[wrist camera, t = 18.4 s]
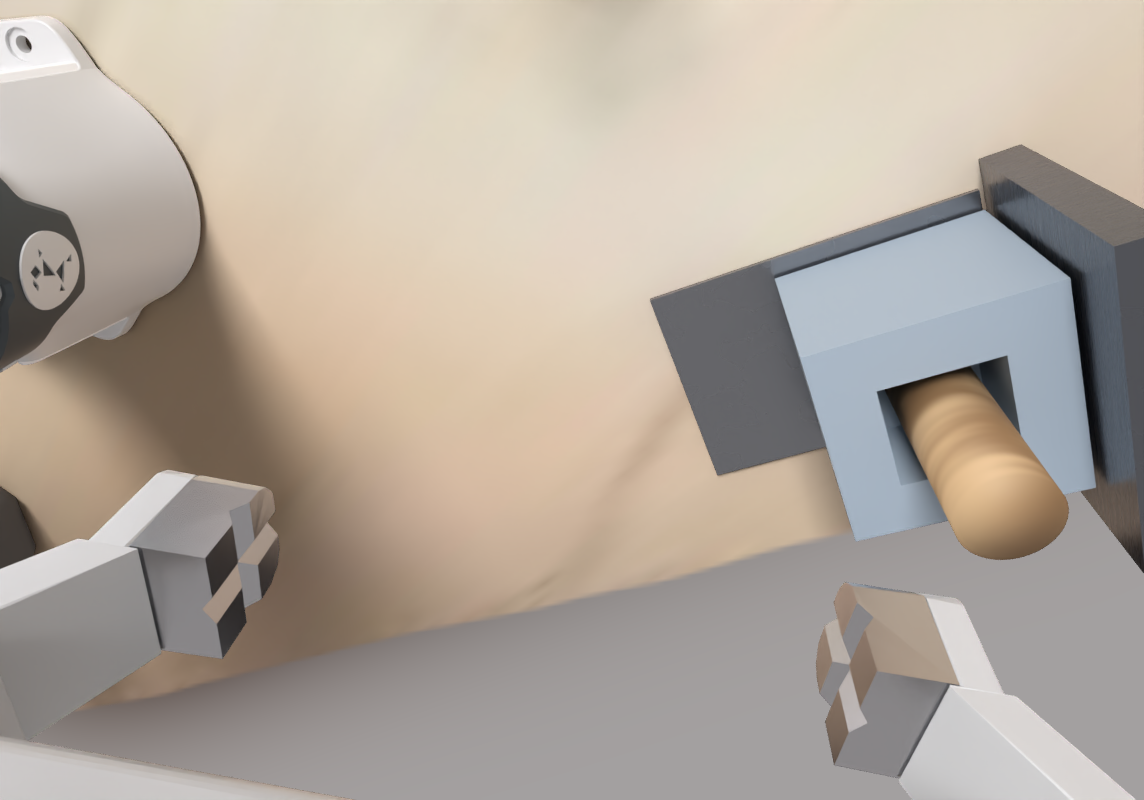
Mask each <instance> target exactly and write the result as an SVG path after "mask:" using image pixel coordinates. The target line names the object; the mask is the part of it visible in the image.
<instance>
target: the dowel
mask: <svg viewBox="0 0 1144 800" xmlns="http://www.w3.org/2000/svg"><path fill="white" fill-rule="evenodd" d="M884 390H885V392H886V394H887V396H888V398H889V400H890V402H891V404H892V406H893V408H894V410H895V412H896V415H897V417H898V419H899V421H900V423H901V425H902V427H903V429H904V431H905V433H906V435H907V437H908V439H909V441H910V443H911V445H912V447H913V449H914V451H915V453H916V455H917V457H918V459H919V462H920V464H921V466H922V468H923V470H924V472H925V474H926V476H927V478H928V480H929V482H930V484H931V486H932V488H933V490H934V492H935V494H936V496H937V498H938V500H939V502H940V504H941V506H942V509H943V511H944V513H945V515H946V517H947V519H948V521H949V522H950V525H951V527H952V529H953V531H954V533H955V535H956V537H957V539H958V541H959V542H960V543H961V545H962V546H963V547H964V548H965V549H967V550H968V551H970V552H971V553H973V554H975V555H978V556H981V557H984V558H988V559H995V560H1007V559H1015V558H1020V557H1024V556H1027V555H1030V554H1032V553H1035V552H1037V551H1039V550H1041V549H1043V548H1044V547H1046V546H1047V545H1049V544H1050V543H1051V542H1052V541H1053V540H1055V539H1056V537H1057V536H1058V535H1059V534H1060V533H1061V531H1062V530H1063V528H1064V526H1065V525H1066V522H1067V519H1068V513H1069V508H1068V503H1067V500H1066V497H1065V496H1064V494H1063V493H1062V491H1061V490H1060V489H1059V487H1058V486H1057V484H1056V483H1055V482H1054V480H1053V479H1052V478H1051V476H1050V475H1049V473H1048V472H1047V471H1046V469H1045V468H1044V467H1043V465H1042V464H1041V462H1040V461H1039V460H1038V458H1037V457H1036V456H1035V454H1034V453H1033V452H1032V450H1031V449H1030V447H1029V446H1028V445H1027V443H1026V442H1025V441H1024V439H1023V438H1022V436H1021V435H1020V434H1019V432H1018V431H1017V430H1016V428H1015V427H1014V425H1013V424H1012V423H1011V421H1010V420H1009V419H1008V417H1007V416H1006V415H1005V413H1004V412H1003V410H1002V409H1001V408H1000V406H999V405H998V404H997V402H996V401H995V399H994V398H993V397H992V395H991V394H990V393H989V391H988V390H987V388H986V387H985V386H984V384H983V383H982V382H981V380H980V379H979V378H978V376H977V375H976V373H975V372H974V371H973V369H972V368H971V367H970V366H967V367H963V368H960V369H956V370H952V371H949V372H945V373H942V374H938V375H934V376H931V377H927V378H924V379H920V380H916V381H913V382H909V383H905V384H902V385H898V386H895V387H891V388H887V389H884Z"/></svg>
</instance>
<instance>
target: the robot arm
mask: <svg viewBox="0 0 1144 800" xmlns="http://www.w3.org/2000/svg"><path fill="white" fill-rule="evenodd" d="M26 38H28V39H29V41H30V42H31V45H32V50H31V49H30V48H29V47H28V46H27V44H26ZM199 240H200V212H199V205H198V200H197V196H196V192H195V188H194V185H193V182H192V179H191V177H190V174H189V172H188V169H187V167H186V165H185V163H184V161H183V159H182V157H181V155H180V153H179V152H178V150H177V148H176V147H175V145H174V144H173V142H172V141H171V139H170V138H169V136H168V135H167V133H166V132H165V131H164V129H163V128H162V127H161V126H160V125H159V123H158V122H157V121H156V120H155V119H154V118H153V117H152V115H151V114H150V113H149V112H148V111H147V110H146V109H145V108H144V107H143V106H142V105H141V104H140V103H138V102H137V101H136V100H135V99H134V98H133V97H131V96H130V95H129V94H128V93H126V92H125V91H124V90H122V89H121V88H120V87H119V86H117V85H116V84H115V83H113V82H112V81H111V80H110V79H108V78H107V77H106V76H105V75H104V74H103V73H102V72H101V71H100V70H99V69H98V68H97V67H96V66H95V64H94V63H93V61H92V60H91V58H90V57H89V55H88V54H87V53H86V51H85V50H84V48H83V47H82V46H81V44H80V43H79V42H78V40H77V39H76V38H75V36H74V35H73V34H72V33H71V32H70V30H69V29H68V28H67V27H66V26H65V25H64V24H63V23H61V22H60V21H59V20H57V19H55V18H53V17H50V16H32V17H21V18H10V19H0V372H2V371H4V370H6V369H8V368H9V367H11V366H13V365H14V364H16V363H17V362H18V363H20V364H22V365H29V364H33V363H36V362H39V361H41V360H43V359H45V358H47V357H49V356H52V355H54V354H56V353H58V352H60V351H62V350H64V349H66V348H68V347H70V346H72V345H74V344H76V343H78V342H80V341H82V340H84V339H86V338H88V337H90V336H94V337H97V338H100V339H104V340H113V339H115V338H117V337H119V336H121V335H123V334H125V333H127V332H128V331H129V330H130V329H131V327H132V326H133V324H134V323H135V321H136V319H137V317H138V316H139V314H140V312H141V310H142V309H143V308H144V307H145V306H146V305H148V304H149V303H151V302H153V301H155V300H157V299H159V298H160V297H162V296H164V295H166V294H167V293H169V292H170V291H172V290H173V289H174V288H175V287H176V286H177V285H178V284H179V283H180V282H181V281H182V280H183V279H184V278H185V276H186V275H187V273H188V272H189V270H190V268H191V266H192V264H193V262H194V260H195V257H196V254H197V250H198V246H199ZM274 512H275V504H274V497H273V492H272V491H270V490H269V489H268V488H266V487H261V486H256V485H251V484H245V483H240V482H235V481H229V480H224V479H219V478H213V477H208V476H202V475H201V476H198V475H194V474H188V473H183V472H178V471H172V470H165V471H162V472H159V473H157V474H156V475H155V476H154V477H153V478H152V479H151V480H150V481H149V482H148V483H146V484H145V485H144V486H143V487H142V488H141V489H140V490H139V491H138V492H137V493H136V494H135V495H134V496H133V497H132V498H131V499H130V500H129V501H128V502H127V503H126V504H125V505H124V506H123V507H122V508H121V509H120V510H119V511H118V512H117V513H116V514H115V515H114V516H113V517H112V518H111V519H110V520H109V521H108V522H107V523H106V524H105V525H104V526H103V527H102V528H101V529H100V530H98V531H97V532H96V533H95V534H94V535H93V536H92V537H91V538H90V539H89V540H83V539H76V540H73V541H70V542H68V543H65V544H63V545H60V546H58V547H55V548H53V549H50V550H48V551H45V552H42V553H40V554H37V555H35V556H32V557H30V558H27V559H25V560H22V561H19V562H17V563H14V564H12V565H9V566H7V567H4V568H2V569H0V800H353V799H348V798H342V797H336V796H331V795H326V794H320V793H315V792H309V791H304V790H298V789H293V788H287V787H281V786H276V785H270V784H265V783H259V782H254V781H248V780H242V779H237V778H232V777H226V776H221V775H215V774H210V773H204V772H198V771H193V770H187V769H182V768H176V767H171V766H165V765H160V764H154V763H149V762H143V761H138V760H132V759H127V758H121V757H115V756H110V755H104V754H99V753H93V752H87V751H82V750H77V749H71V748H65V747H60V746H55V745H49V744H43V743H38V742H32V741H29V740H30V739H32V738H33V737H35V736H36V735H38V734H39V733H41V732H43V731H44V730H45V729H47V728H49V727H50V726H52V725H53V724H55V723H56V722H58V721H59V720H61V719H62V718H64V717H65V716H67V715H68V714H70V713H71V712H73V711H75V710H76V709H78V708H79V707H81V706H82V705H84V704H85V703H87V702H88V701H90V700H91V699H93V698H94V697H96V696H97V695H99V694H100V693H102V692H104V691H105V690H107V689H108V688H110V687H111V686H113V685H114V684H116V683H117V682H119V681H120V680H122V679H123V678H125V677H126V676H128V675H129V674H131V673H132V672H134V671H136V670H137V669H139V668H140V667H142V666H143V665H145V664H146V663H148V662H149V661H151V660H152V659H154V658H155V657H157V656H158V655H160V654H161V650H164V651H171V652H178V653H185V654H192V655H199V656H206V657H213V658H220V659H223V658H224V656H225V654H226V653H227V651H228V650H229V648H230V647H231V645H232V644H233V642H234V641H235V639H236V638H237V636H238V635H239V633H240V632H241V630H242V629H243V627H244V626H245V624H246V614H245V608H246V607H248V606H250V605H251V604H253V603H255V602H257V601H259V600H261V599H262V598H263V596H264V594H265V593H266V591H267V590H268V588H269V586H270V585H271V583H272V580H273V577H274V574H275V571H276V568H277V565H278V557H279V539H278V534H277V533H276V532H275V531H274V530H273V528H272V527H271V526H270V525H269V524H268V521H269V519H270V518H271V516H272V515H273V514H274ZM834 606H835V610H836V614H837V618H836V619H835V620H833V621H831V622H830V623H828V624H827V625H825V626H824V629H823V632H822V635H821V638H820V641H819V645H818V652H817V660H816V670H817V682H818V686H819V692H820V694H821V696H822V697H823V698H824V699H825V700H826V701H827V702H828V703H829V705H830V706H831V709H830V711H829V714H828V716H827V718H826V721H825V723H826V728H827V733H828V737H829V742H830V747H831V752H832V757H833V762H834V765H836V766H841V767H846V768H851V769H856V770H860V771H866V772H871V773H876V774H880V775H886V776H890V777H895V778H900V779H899V783H900V784H901V785H902V787H903V788H904V789H905V791H906V792H907V793H908V794H909V796H910V797H911V799H912V800H1135V799H1134V798H1133V797H1132V796H1131V795H1130V794H1129V793H1127V792H1126V791H1125V790H1124V789H1123V788H1122V787H1120V786H1119V785H1118V784H1117V783H1116V782H1115V781H1114V780H1112V779H1111V778H1110V777H1109V776H1108V775H1107V774H1105V773H1104V772H1103V771H1102V770H1101V769H1100V768H1098V767H1097V766H1096V765H1095V764H1094V763H1093V762H1092V761H1090V760H1089V759H1088V758H1087V757H1086V756H1084V755H1083V754H1082V753H1081V752H1080V751H1079V750H1078V749H1077V748H1075V747H1074V746H1073V745H1072V744H1071V743H1070V742H1068V741H1067V740H1066V739H1065V738H1064V737H1063V736H1061V735H1060V734H1059V733H1058V732H1057V731H1056V730H1054V729H1053V728H1052V727H1051V726H1050V725H1049V724H1048V723H1046V722H1045V721H1044V720H1043V719H1042V718H1041V717H1039V716H1038V715H1037V714H1036V713H1035V712H1034V711H1033V710H1031V709H1030V708H1029V707H1028V706H1027V705H1026V704H1024V703H1023V702H1022V701H1021V700H1020V699H1018V698H1017V697H1016V696H1011V695H1005V694H1004V692H1003V690H1002V688H1001V686H1000V683H999V681H998V679H997V677H996V675H995V672H994V670H993V668H992V666H991V664H990V662H989V659H988V657H987V655H986V653H985V651H984V649H983V646H982V644H981V642H980V640H979V638H978V636H977V633H976V631H975V629H974V627H973V625H972V623H971V621H970V618H969V616H968V614H967V612H966V610H965V607H964V605H963V604H962V603H961V602H960V601H959V600H958V599H957V598H953V597H946V596H938V595H931V594H925V593H918V594H916V593H912V592H906V591H900V590H893V589H886V588H881V587H874V586H868V585H861V584H854V583H849V582H845V583H844V584H843V585H842V586H841V588H840V589H839V591H838V593H837V596H836V598H835V601H834Z"/></svg>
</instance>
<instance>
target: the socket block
mask: <svg viewBox="0 0 1144 800" xmlns="http://www.w3.org/2000/svg"><path fill="white" fill-rule="evenodd" d="M775 281H776V285H777V288H778V291H779V294H780V298H781V301H782V304H783V308H784V311H785V314H786V317H787V321H788V324H789V327H790V331H791V334H792V337H793V341H794V344H795V347H796V350H797V354H798V357H799V360H800V364H801V367H802V370H803V373H804V377H805V380H806V383H807V387H808V390H809V393H810V396H811V400H812V403H813V406H814V410H815V413H816V416H817V419H818V423H819V426H820V429H821V433H822V436H823V439H824V442H825V445H826V449H827V452H828V455H829V458H830V461H831V464H832V468H833V471H834V474H835V477H836V480H837V484H838V487H839V490H840V493H841V496H842V499H843V503H844V506H845V509H846V512H847V515H848V518H849V522H850V525H851V528H852V531H853V534H854V538H855V541H860V540H865V539H869V538H873V537H878V536H882V535H887V534H892V533H896V532H900V531H905V530H909V529H914V528H918V527H923V526H927V525H931V524H936V523H940V522H945V521H948V519H947V517H946V515H945V513H944V511H943V509H942V506H941V504H940V502H939V500H938V498H937V496H936V494H935V492H934V490H933V488H932V486H931V484H930V482H929V480H928V478H927V476H926V474H925V472H924V470H923V468H922V466H921V464H920V462H919V459H918V457H917V455H916V453H915V451H914V449H913V447H912V445H911V443H910V441H909V439H908V437H907V435H906V433H905V431H904V429H903V427H902V425H901V423H900V421H899V419H898V417H897V415H896V412H895V410H894V408H893V406H892V404H891V402H890V400H889V398H888V396H887V394H886V392H885V390H884V389H887V388H891V387H895V386H898V385H902V384H905V383H909V382H913V381H916V380H920V379H924V378H927V377H931V376H934V375H938V374H942V373H945V372H949V371H952V370H956V369H960V368H963V367H967V366H970V367H971V368H972V369H973V371H974V372H975V373H976V375H977V376H978V378H979V379H980V380H981V382H982V383H983V384H984V386H985V387H986V388H987V390H988V391H989V393H990V394H991V395H992V397H993V398H994V399H995V401H996V402H997V404H998V405H999V406H1000V408H1001V409H1002V410H1003V412H1004V413H1005V415H1006V416H1007V417H1008V419H1009V420H1010V421H1011V423H1012V424H1013V425H1014V427H1015V428H1016V430H1017V431H1018V432H1019V434H1020V435H1021V436H1022V438H1023V439H1024V441H1025V442H1026V443H1027V445H1028V446H1029V447H1030V449H1031V450H1032V452H1033V453H1034V454H1035V456H1036V457H1037V458H1038V460H1039V461H1040V462H1041V464H1042V465H1043V467H1044V468H1045V469H1046V471H1047V472H1048V473H1049V475H1050V476H1051V478H1052V479H1053V480H1054V482H1055V483H1056V484H1057V486H1058V487H1059V489H1060V490H1061V491H1062V493H1063V494H1064V495H1065V494H1069V493H1074V492H1078V491H1083V490H1087V489H1092V488H1096V483H1095V475H1094V466H1093V458H1092V450H1091V442H1090V434H1089V426H1088V418H1087V410H1086V401H1085V393H1084V385H1083V377H1082V369H1081V361H1080V353H1079V344H1078V336H1077V328H1076V320H1075V312H1074V304H1073V296H1072V287H1071V279H1070V277H1068V276H1067V275H1066V274H1065V273H1063V272H1062V271H1061V270H1060V269H1058V268H1057V267H1056V266H1055V265H1053V264H1052V263H1051V262H1050V261H1048V260H1047V259H1046V258H1045V257H1043V256H1042V255H1041V254H1040V253H1038V252H1037V251H1036V250H1035V249H1033V248H1032V247H1031V246H1030V245H1028V244H1027V243H1026V242H1025V241H1023V240H1022V239H1021V238H1019V237H1018V236H1017V235H1016V234H1014V233H1013V232H1012V231H1011V230H1009V229H1008V228H1007V227H1006V226H1004V225H1003V224H1002V223H1001V222H999V221H998V220H997V219H996V218H994V217H993V216H992V215H991V214H989V213H988V212H987V211H986V210H982V211H979V212H976V213H973V214H970V215H967V216H964V217H961V218H958V219H955V220H952V221H949V222H946V223H943V224H939V225H936V226H933V227H930V228H927V229H924V230H921V231H918V232H915V233H912V234H909V235H906V236H903V237H900V238H897V239H894V240H891V241H888V242H885V243H882V244H879V245H876V246H873V247H869V248H866V249H863V250H860V251H857V252H854V253H851V254H848V255H845V256H842V257H839V258H836V259H833V260H830V261H827V262H824V263H821V264H818V265H815V266H812V267H809V268H806V269H803V270H799V271H796V272H793V273H790V274H787V275H784V276H781V277H778V278H775Z"/></svg>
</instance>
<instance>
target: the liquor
mask: <svg viewBox="0 0 1144 800" xmlns="http://www.w3.org/2000/svg"><path fill="white" fill-rule="evenodd" d="M35 547H36V545H35V543H34V541H33V538H32V536H31V533H30V531H29V528H28V526H27V524H26V521H25V519H24V516H23V514H22V511H21V509H20V507H19V504H18V502H17V499H16V498H15V497H14V496H13V495H11V494H10V493H8V492H7V491H6V490H4V489H3V488H1V487H0V569H2V568H4V567H7V566H9V565H12V564H14V563H17V562H19V561H22V560H25V559H27V558H30V557H32V556H34V551H35Z"/></svg>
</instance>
